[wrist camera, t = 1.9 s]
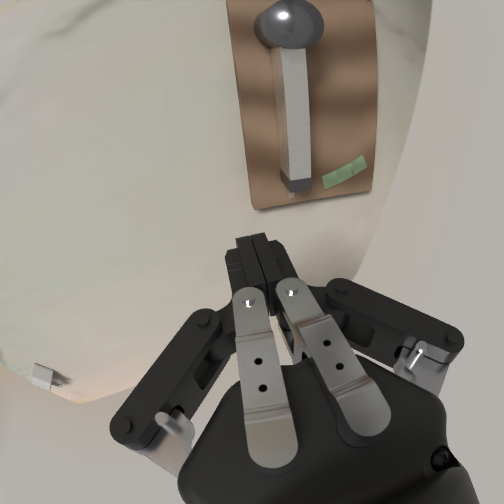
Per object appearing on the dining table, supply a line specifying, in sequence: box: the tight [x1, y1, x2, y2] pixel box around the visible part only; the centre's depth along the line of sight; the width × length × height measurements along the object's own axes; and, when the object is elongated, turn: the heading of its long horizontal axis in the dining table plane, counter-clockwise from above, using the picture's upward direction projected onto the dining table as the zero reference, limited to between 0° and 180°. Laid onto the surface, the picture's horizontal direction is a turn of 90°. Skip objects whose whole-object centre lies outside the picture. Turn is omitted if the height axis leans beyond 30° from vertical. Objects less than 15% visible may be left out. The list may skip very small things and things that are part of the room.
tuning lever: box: [254, 0, 324, 193], centre depth 21 cm, size 17×4×4 cm, turn 6°
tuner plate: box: [226, 0, 377, 210], centre depth 23 cm, size 22×14×2 cm, turn 6°
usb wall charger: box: [32, 363, 63, 391], centre depth 42 cm, size 4×7×4 cm, turn 54°
